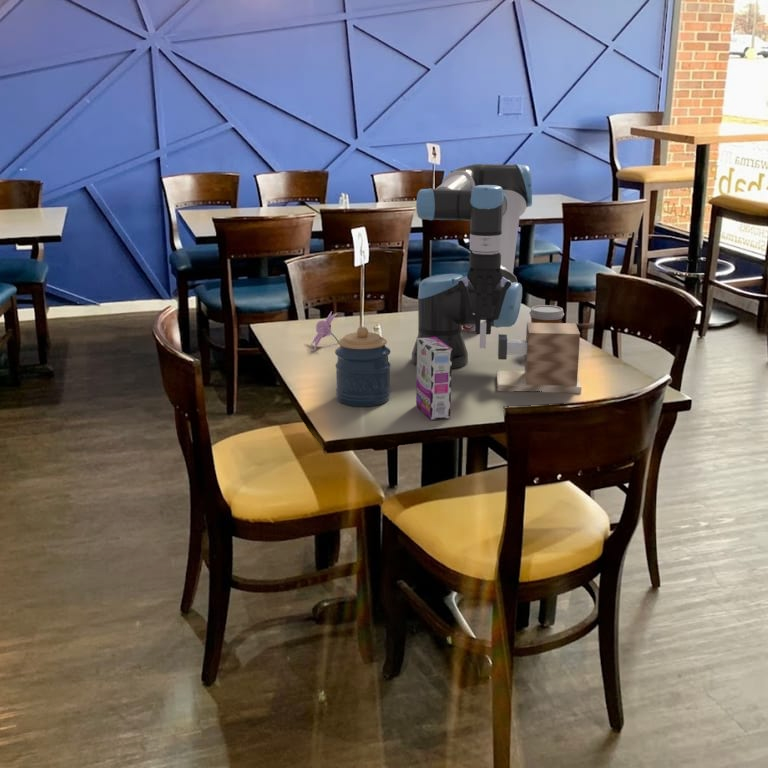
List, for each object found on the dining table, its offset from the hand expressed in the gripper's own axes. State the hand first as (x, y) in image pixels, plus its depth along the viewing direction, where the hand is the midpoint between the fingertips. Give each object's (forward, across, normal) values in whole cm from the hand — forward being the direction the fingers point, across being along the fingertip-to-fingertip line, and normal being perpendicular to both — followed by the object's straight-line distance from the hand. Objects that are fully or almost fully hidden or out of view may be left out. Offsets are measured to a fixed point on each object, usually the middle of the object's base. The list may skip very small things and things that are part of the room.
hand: (482, 346), depth 226 cm
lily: (+10, -45, +32) cm, 56 cm away
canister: (+10, -28, -14) cm, 33 cm away
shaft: (+3, +12, 0) cm, 12 cm away
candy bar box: (+10, -11, -22) cm, 26 cm away
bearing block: (+10, +14, 0) cm, 17 cm away
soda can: (+10, -3, +52) cm, 53 cm away
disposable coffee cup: (+10, +18, +31) cm, 37 cm away
